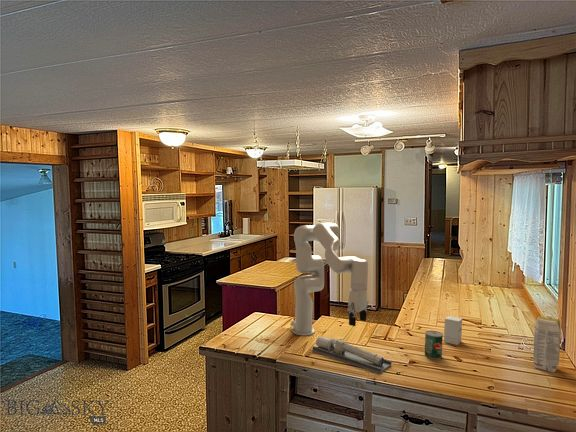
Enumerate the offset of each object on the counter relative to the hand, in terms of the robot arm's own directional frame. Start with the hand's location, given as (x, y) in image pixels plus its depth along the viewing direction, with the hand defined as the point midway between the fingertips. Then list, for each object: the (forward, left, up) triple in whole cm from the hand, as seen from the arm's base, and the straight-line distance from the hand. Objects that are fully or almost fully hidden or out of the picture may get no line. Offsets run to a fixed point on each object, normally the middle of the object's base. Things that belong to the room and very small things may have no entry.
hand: (357, 322), depth 178 cm
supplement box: (+26, +56, -18) cm, 64 cm away
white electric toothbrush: (0, 0, -17) cm, 17 cm away
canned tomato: (+25, +30, -18) cm, 43 cm away
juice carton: (+68, +51, -18) cm, 87 cm away
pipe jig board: (-3, 0, -18) cm, 18 cm away
